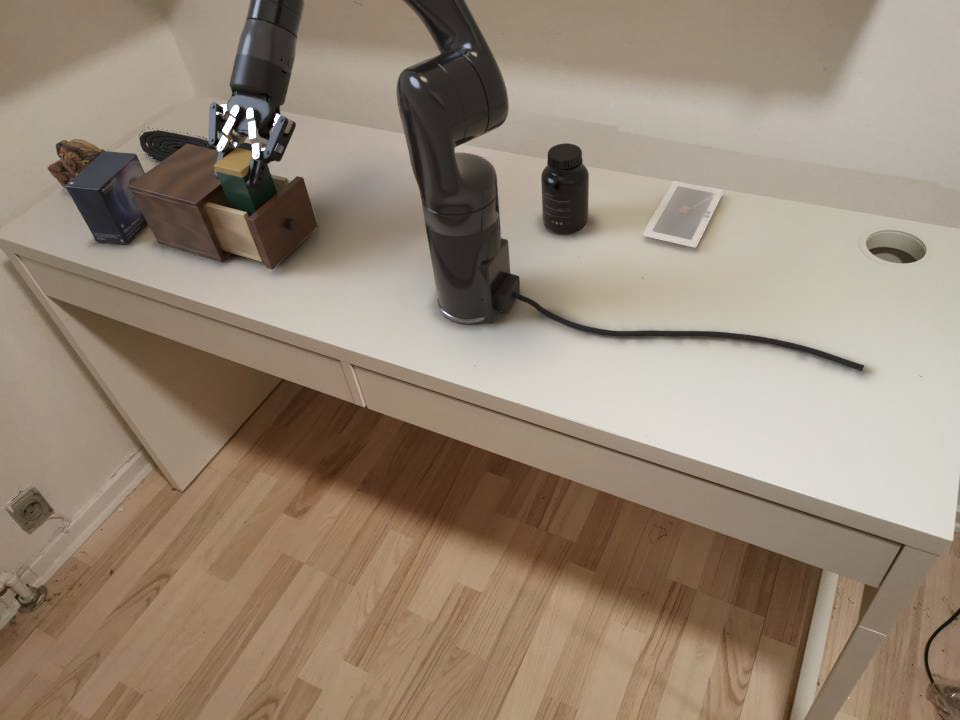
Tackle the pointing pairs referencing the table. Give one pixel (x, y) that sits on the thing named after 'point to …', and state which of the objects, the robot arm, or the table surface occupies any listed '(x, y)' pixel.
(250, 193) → the tea tin
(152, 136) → the hairbrush
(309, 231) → the drawer
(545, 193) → the supplement bottle
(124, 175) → the small box
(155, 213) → the cabinet
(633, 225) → the table surface
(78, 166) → the wooden carving
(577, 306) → the table surface
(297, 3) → the robot arm
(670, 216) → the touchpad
